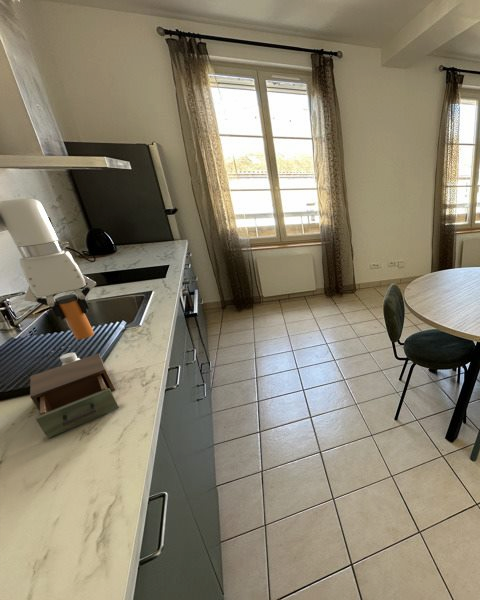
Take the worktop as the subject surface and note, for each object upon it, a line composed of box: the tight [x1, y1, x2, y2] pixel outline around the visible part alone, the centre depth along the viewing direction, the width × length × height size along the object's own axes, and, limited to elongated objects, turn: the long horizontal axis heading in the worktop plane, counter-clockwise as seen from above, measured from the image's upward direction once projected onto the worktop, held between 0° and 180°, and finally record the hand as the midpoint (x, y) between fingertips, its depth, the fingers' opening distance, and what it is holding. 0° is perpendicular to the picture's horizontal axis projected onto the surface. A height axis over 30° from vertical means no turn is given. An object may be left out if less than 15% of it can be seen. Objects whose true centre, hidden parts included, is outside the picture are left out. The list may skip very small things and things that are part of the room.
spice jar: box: [54, 293, 95, 340], centre depth 90 cm, size 4×4×12 cm
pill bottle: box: [59, 352, 81, 366], centre depth 100 cm, size 4×4×8 cm
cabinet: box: [29, 353, 116, 413], centre depth 91 cm, size 14×15×8 cm
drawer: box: [35, 374, 120, 439], centre depth 83 cm, size 17×13×6 cm
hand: (74, 314), depth 90 cm, fingers closed on spice jar, 4 cm apart
